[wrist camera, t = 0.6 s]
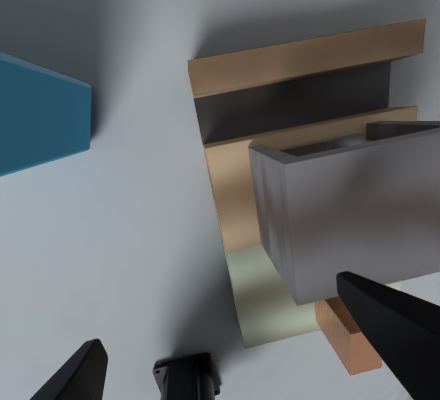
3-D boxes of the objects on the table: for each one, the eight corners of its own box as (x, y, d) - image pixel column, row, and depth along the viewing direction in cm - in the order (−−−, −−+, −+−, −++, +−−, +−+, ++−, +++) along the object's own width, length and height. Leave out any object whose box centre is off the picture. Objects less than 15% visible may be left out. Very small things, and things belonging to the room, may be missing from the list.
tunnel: (376, 290, 27) (477, 381, 18) (238, 323, 26) (267, 438, 17) (389, 33, 19) (594, -54, 9) (188, 69, 18) (187, 14, 8)
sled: (353, 303, 23) (405, 361, 17) (293, 318, 23) (326, 381, 17) (355, 133, 18) (430, 139, 12) (276, 149, 17) (317, 162, 12)
